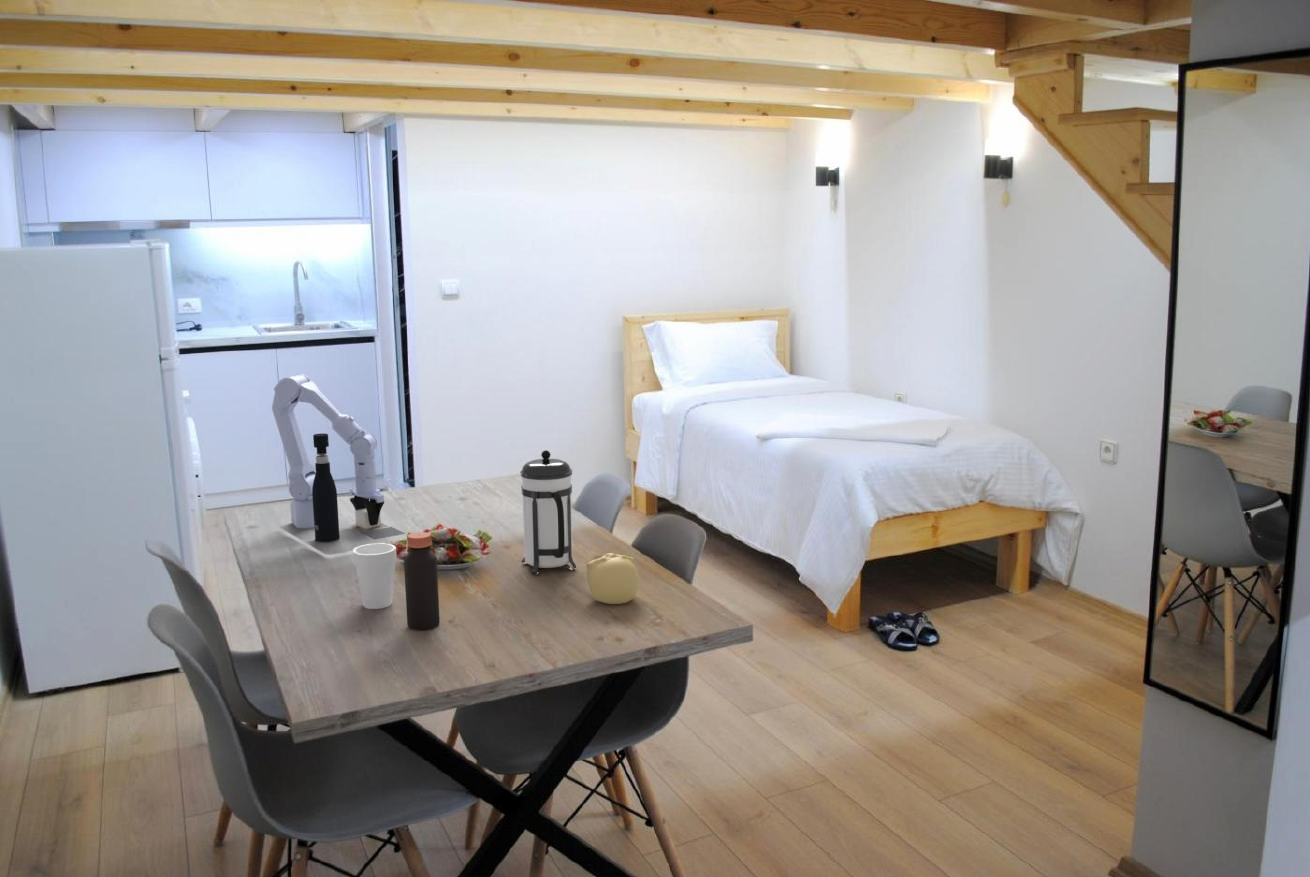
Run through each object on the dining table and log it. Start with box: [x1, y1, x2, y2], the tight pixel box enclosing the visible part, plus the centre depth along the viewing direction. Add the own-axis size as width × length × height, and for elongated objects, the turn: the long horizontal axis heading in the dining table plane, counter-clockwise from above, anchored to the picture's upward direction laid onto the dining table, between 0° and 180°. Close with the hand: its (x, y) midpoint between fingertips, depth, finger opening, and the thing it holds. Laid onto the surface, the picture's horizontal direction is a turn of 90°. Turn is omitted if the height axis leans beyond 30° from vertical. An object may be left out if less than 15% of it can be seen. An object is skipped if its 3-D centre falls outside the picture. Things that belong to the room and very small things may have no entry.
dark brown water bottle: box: [403, 531, 441, 631], centre depth 225 cm, size 7×7×20 cm
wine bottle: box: [312, 433, 341, 543], centre depth 287 cm, size 6×6×30 cm
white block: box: [354, 508, 382, 529], centre depth 302 cm, size 5×5×4 cm
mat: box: [360, 526, 406, 540], centre depth 295 cm, size 9×9×1 cm
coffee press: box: [519, 450, 577, 575], centre depth 262 cm, size 17×16×30 cm
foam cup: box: [352, 542, 397, 610], centre depth 239 cm, size 10×9×13 cm
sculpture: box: [586, 552, 640, 605], centre depth 241 cm, size 12×12×11 cm
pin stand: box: [349, 522, 387, 532], centre depth 303 cm, size 8×8×4 cm
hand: (368, 523), depth 303 cm, fingers closed on white block, 5 cm apart
